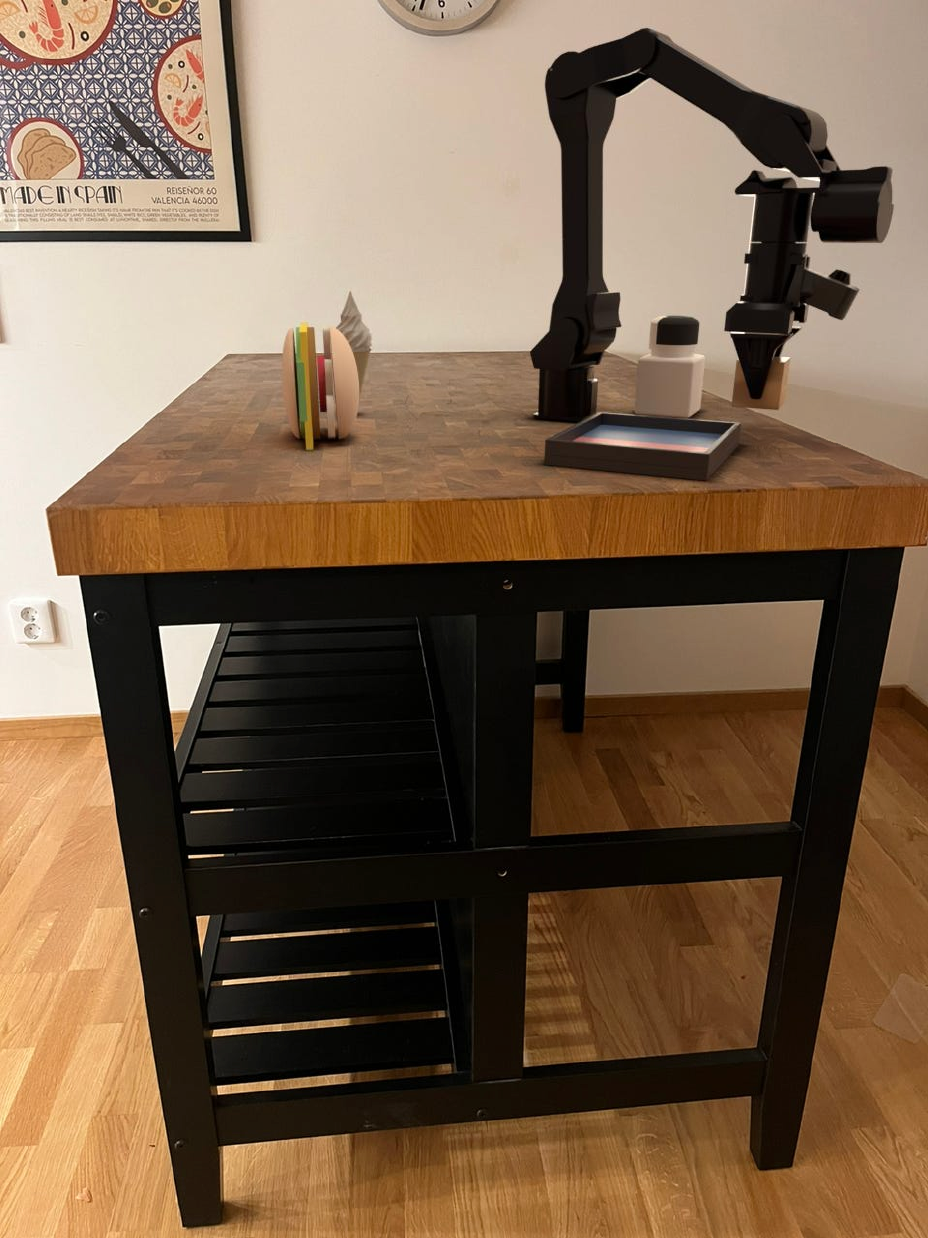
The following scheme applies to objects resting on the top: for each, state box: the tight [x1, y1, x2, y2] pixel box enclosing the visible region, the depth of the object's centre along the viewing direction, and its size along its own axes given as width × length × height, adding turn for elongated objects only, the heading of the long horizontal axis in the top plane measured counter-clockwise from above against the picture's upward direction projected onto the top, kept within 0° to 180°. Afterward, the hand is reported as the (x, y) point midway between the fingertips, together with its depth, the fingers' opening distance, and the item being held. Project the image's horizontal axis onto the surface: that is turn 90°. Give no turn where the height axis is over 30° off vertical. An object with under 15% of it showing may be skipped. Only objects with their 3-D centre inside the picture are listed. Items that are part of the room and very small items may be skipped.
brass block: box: [731, 356, 791, 411], centre depth 102 cm, size 5×5×5 cm
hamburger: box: [281, 322, 360, 451], centre depth 102 cm, size 12×8×12 cm
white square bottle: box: [633, 315, 706, 419], centre depth 119 cm, size 7×7×12 cm
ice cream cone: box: [335, 290, 373, 400], centre depth 116 cm, size 5×5×15 cm
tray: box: [543, 411, 742, 481], centre depth 96 cm, size 16×18×2 cm
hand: (759, 395), depth 102 cm, fingers closed on brass block, 5 cm apart
